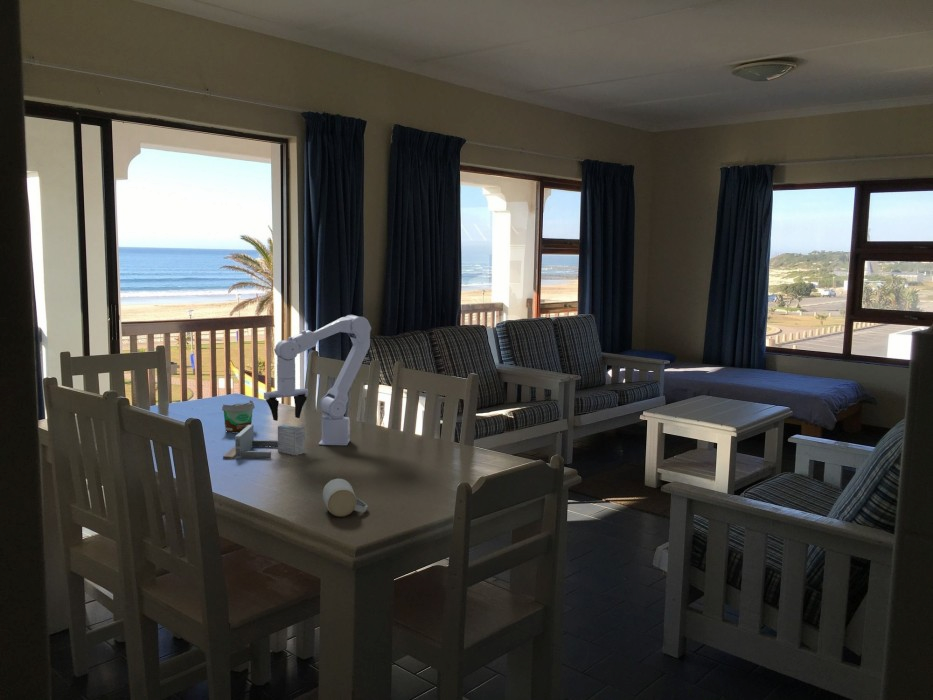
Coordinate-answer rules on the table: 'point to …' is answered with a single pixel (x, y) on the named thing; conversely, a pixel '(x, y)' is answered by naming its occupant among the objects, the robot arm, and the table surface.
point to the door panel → (244, 440)
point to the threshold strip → (230, 454)
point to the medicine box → (291, 439)
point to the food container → (238, 416)
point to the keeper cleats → (260, 453)
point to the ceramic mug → (342, 498)
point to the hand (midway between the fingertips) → (286, 418)
